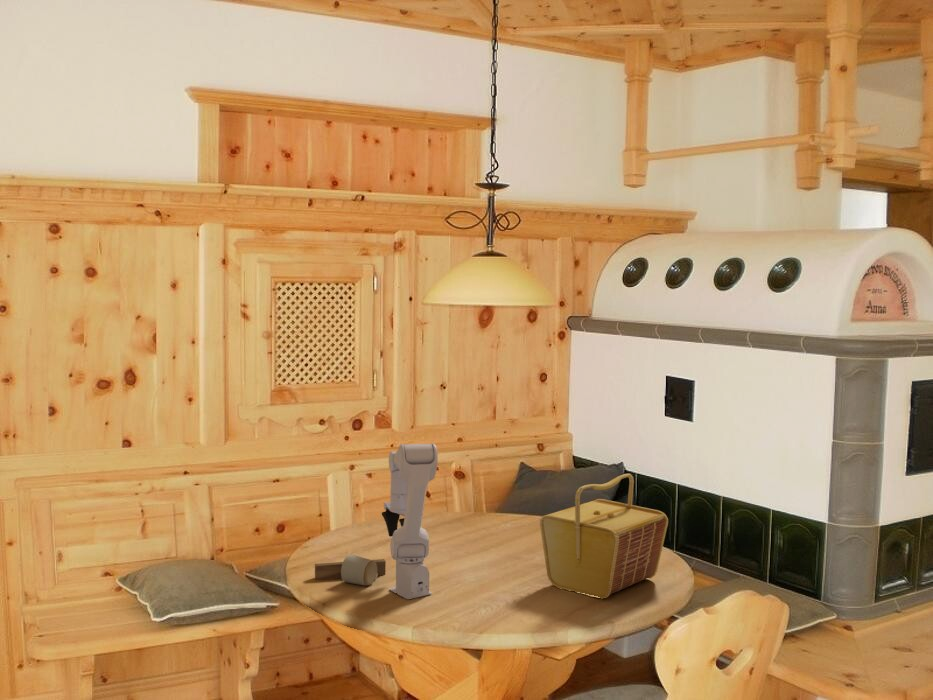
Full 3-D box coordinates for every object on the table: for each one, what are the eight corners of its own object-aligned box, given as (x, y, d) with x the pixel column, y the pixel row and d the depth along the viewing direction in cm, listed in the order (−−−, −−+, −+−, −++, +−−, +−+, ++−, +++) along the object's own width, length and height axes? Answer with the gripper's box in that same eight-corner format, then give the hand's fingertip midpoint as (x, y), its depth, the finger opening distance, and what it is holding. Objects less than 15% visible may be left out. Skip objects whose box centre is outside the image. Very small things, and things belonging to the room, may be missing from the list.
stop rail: (385, 574, 288) (385, 561, 288) (315, 579, 283) (315, 565, 282) (383, 572, 290) (384, 559, 290) (314, 577, 285) (314, 563, 284)
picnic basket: (592, 562, 304) (596, 465, 302) (668, 581, 288) (672, 478, 285) (535, 585, 282) (538, 480, 280) (613, 607, 266) (617, 496, 263)
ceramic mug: (365, 589, 275) (366, 562, 275) (339, 585, 279) (340, 557, 278) (384, 579, 285) (385, 553, 284) (359, 575, 288) (360, 548, 288)
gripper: (426, 496, 283) (425, 543, 285) (398, 485, 295) (397, 531, 296) (405, 499, 279) (404, 546, 280) (377, 488, 291) (377, 534, 292)
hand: (399, 539), depth 288 cm, fingers open, 7 cm apart
